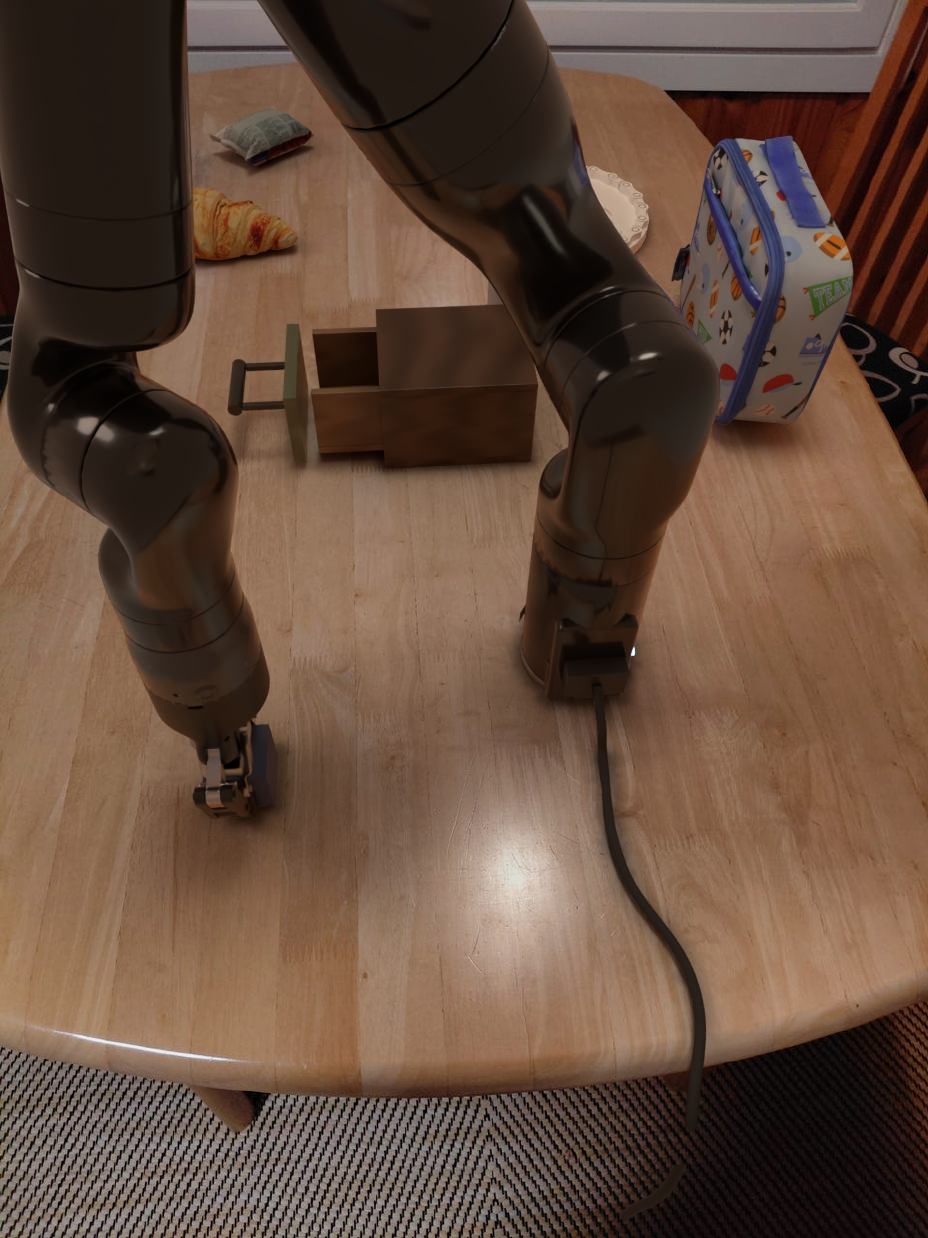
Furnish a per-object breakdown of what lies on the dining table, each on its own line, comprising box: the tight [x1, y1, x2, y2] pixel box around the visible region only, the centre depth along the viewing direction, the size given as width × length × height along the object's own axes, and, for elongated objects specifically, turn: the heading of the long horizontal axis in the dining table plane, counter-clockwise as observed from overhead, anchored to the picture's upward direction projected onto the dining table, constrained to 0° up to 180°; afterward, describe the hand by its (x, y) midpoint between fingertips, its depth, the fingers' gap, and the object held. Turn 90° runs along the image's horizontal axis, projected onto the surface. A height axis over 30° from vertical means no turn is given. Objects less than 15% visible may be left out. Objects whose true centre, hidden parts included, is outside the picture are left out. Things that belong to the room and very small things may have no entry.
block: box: [201, 723, 278, 808], centre depth 69 cm, size 4×4×4 cm
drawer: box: [227, 323, 384, 463], centre depth 92 cm, size 19×11×8 cm, turn 95°
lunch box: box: [671, 135, 854, 426], centre depth 94 cm, size 28×10×22 cm, turn 3°
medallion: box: [586, 165, 650, 255], centre depth 120 cm, size 24×27×2 cm
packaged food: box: [208, 108, 315, 167], centre depth 129 cm, size 9×12×5 cm
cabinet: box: [375, 304, 539, 469], centre depth 93 cm, size 15×13×10 cm
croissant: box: [193, 186, 299, 261], centre depth 114 cm, size 21×10×8 cm, turn 87°
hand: (245, 779), depth 71 cm, fingers closed on block, 4 cm apart
